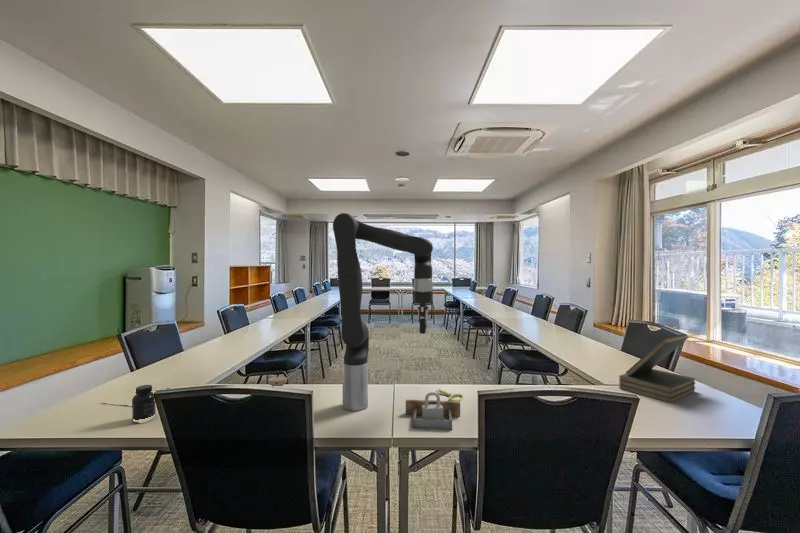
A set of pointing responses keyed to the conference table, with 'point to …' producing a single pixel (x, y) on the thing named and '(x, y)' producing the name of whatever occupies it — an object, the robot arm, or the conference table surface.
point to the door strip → (445, 404)
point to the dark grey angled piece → (658, 374)
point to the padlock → (432, 408)
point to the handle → (277, 381)
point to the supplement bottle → (143, 403)
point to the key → (451, 395)
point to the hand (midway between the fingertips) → (423, 331)
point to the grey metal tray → (432, 422)
